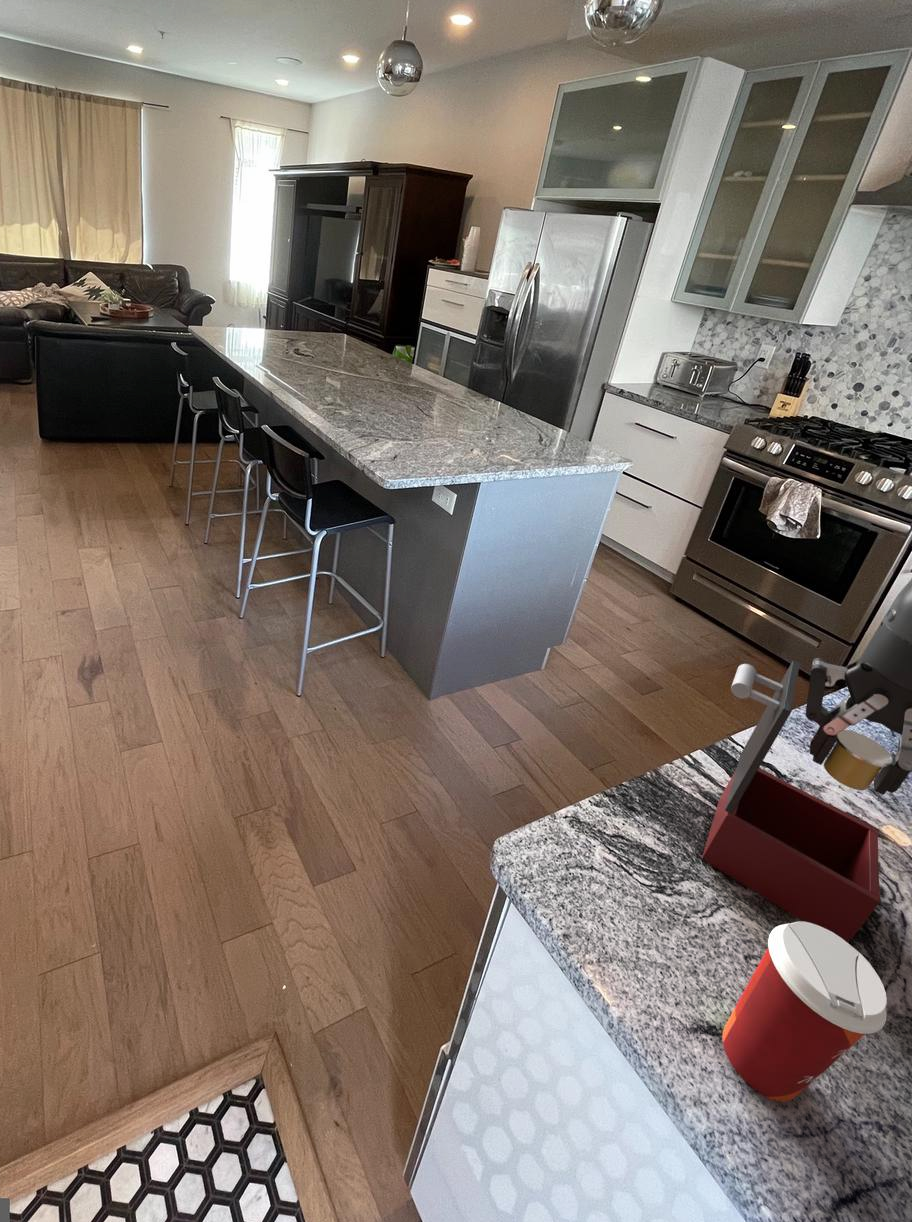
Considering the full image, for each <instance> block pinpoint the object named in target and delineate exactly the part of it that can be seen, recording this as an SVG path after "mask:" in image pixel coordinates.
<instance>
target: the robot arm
mask: <svg viewBox="0 0 912 1222" xmlns="http://www.w3.org/2000/svg"><path fill="white" fill-rule="evenodd" d="M811 662H812V663H811V668H810V669H811V670H810V676H809V677H810V678H809V685H808V691H807V692H808V693H807V698H806V708H805V717H806V719H807V720H808V721H811V722H815V724H817V725H818V726H819V727H818V729H817V730H816V732H815V734H813V735H814V736H813V737H812V739H811V740H810V743H809V755H811V756H812V762H813V763H816V764H818V765H820V766H822V765H823V764H824V762H825V761H826V759H827V757H828V756H829V754H830V753H831V751H832V750H833V748H834V746H835V745H836V743H837V737H838V733H840V732H841V731H843V730H847V728H849V727H850V726H851V727H853V726H856V725H857V724H859V723H860V722H862V721H863V720H864V719H865V720H867V721H869V722H873V723H875V724H880V725H883V726H884V727H885V728H887V729H888V730H890V731H892V732H894V733H896V734H897V735H898V739H897V740H898V741H897V750H896V753H893V752H892V753H891V754H890V755H891V756H892V764H891V765H890V766H888V767H882V768H881V770H880V771H879V773H878V774H877V775H876V777H875V778H874V780H873V791H874V792H876V793H878V794H880V795H882V796H884V795H885V794H886V793H887V792H888V793H890V794H894V793H895V792H897V791H898V790H899V789H900V787H901V786H902V785H903V784H904V781H905V780H906V779H907V777H908V776H909V774H910V773H912V578H911V579H910V580H909V581H908V582H907V583H906V584H905V586H903V588H902V589H901V591H899V593H898V594H897V596H896V597H895V599H894V601H893V602H892V604H891V605H890V607H889V609H888V610H887V612H886V614H885V615H884V616H883V619H882V620H881V622H880V624H879V626H878V627H877V628H876V630H875V632H874V634H873V635H872V637H871V639H870V640H869V642H868V644H867V645H866V647H865V649H864V650H863V652H862V654H861V655H860V656H859V658H858V659H857V660H856V661H854V662H852V663H849V664H848V665H847V666H842V665H836V664H831V663H828V662H827V660H826V659H824V658H822V657H815V658H814V659H812V661H811ZM839 680H844V681H845V685H846V687H847V691H848V693H849V695H847V696H846V697H845V698H843V699H842V700H841V701H840V702H839V704H838V705H836V706H835V707H833V708H832V709H831V710H828V709H827V708H825V706H823V701H824V694H825V687H829V688H831V687H834V686H835V685H836V682H837V681H839Z"/></svg>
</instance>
